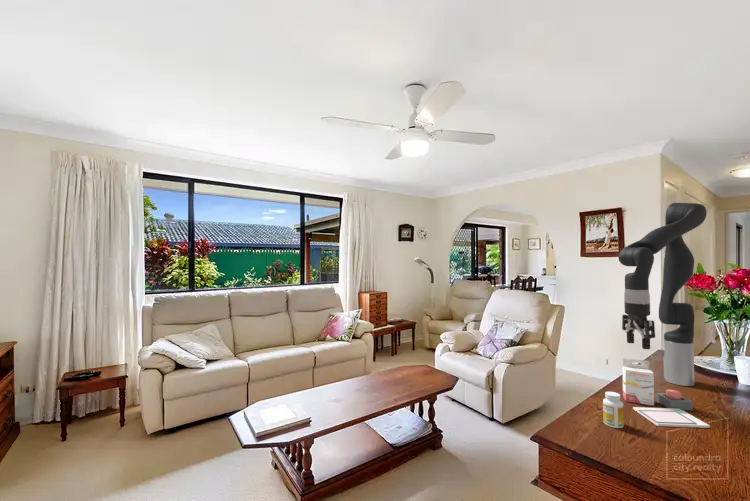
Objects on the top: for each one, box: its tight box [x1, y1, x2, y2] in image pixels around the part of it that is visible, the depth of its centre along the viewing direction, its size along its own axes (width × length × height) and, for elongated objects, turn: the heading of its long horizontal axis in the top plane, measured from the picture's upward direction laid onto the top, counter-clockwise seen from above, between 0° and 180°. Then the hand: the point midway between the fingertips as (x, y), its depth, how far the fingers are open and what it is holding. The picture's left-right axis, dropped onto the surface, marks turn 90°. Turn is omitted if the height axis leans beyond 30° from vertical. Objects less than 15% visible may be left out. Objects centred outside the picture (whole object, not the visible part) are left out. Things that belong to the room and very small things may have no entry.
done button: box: [665, 388, 682, 400], centre depth 123 cm, size 4×4×3 cm
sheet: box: [632, 406, 711, 429], centre depth 113 cm, size 12×15×1 cm
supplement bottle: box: [602, 391, 625, 429], centre depth 110 cm, size 5×5×10 cm
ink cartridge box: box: [622, 358, 655, 407], centre depth 127 cm, size 9×5×15 cm, turn 65°
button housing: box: [655, 392, 694, 411], centre depth 123 cm, size 7×7×3 cm
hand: (638, 346), depth 126 cm, fingers open, 8 cm apart
